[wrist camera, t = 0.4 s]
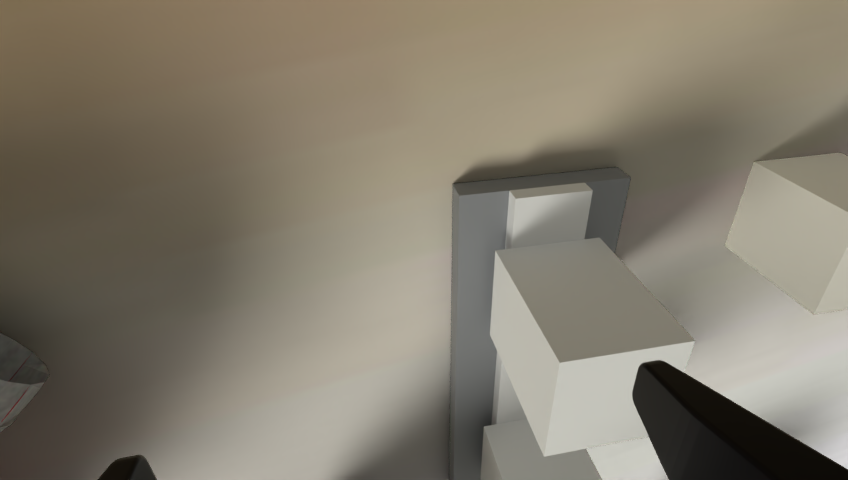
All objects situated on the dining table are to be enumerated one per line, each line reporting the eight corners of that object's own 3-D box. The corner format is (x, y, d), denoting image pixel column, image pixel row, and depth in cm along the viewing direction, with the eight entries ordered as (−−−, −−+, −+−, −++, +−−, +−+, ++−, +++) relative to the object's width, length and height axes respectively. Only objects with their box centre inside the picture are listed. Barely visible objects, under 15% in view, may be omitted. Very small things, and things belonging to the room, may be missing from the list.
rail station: (560, 457, 36) (627, 599, 28) (449, 478, 35) (488, 632, 27) (617, 166, 24) (756, 276, 17) (452, 184, 23) (522, 310, 15)
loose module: (805, 234, 29) (908, 299, 24) (724, 245, 28) (813, 314, 23) (841, 152, 26) (966, 205, 21) (753, 161, 26) (861, 219, 21)
